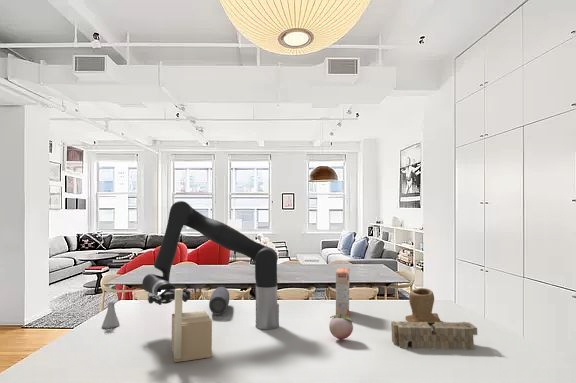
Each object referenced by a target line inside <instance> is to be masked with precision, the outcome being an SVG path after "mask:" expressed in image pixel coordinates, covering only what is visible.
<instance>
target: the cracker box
mask: <svg viewBox="0 0 576 383" xmlns="http://www.w3.org/2000/svg"><path fill="white" fill-rule="evenodd" d="M349 311H350V268H348V267H347V268H346V267H338V268H337V270H336V272H335V315H338V316H340V314H341V317H348V318H349V314H350V313H349Z"/></svg>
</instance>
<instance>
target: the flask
mask: <svg viewBox="0 0 576 383" xmlns="http://www.w3.org/2000/svg"><path fill="white" fill-rule="evenodd" d="M115 304H116V301H108V302H106V305H107V311H106V315H105V317H104V319H103V321H102V324H101V328H102V329H103V328H105V329H111V328H117V327H119V326H120V324H121V323H120V321H119V318H118V316H117V313H116V308H115Z"/></svg>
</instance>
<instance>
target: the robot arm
mask: <svg viewBox="0 0 576 383" xmlns="http://www.w3.org/2000/svg"><path fill="white" fill-rule="evenodd" d="M184 226H185V227H188V228H190V229H193V230H194V231H196V232H198V233H200V234H201V235H203V236H204V237H205V238H206V239H208V240H210V241H211V242H212V243H214V244H216V245H218V246H220V247H221V248H224V249H226V250H229V251H231V252H235V253H238V254H241V255H243V256H246V257H247V258H249V259H250V260H253V261H254V274H255V275H254V278H255V327H256V328H257V329H259V330H272V329H276V328H279V327H280V304H279V303H278V260H279V259H278V258H279V257H278V253H277V252H276V250H275V249H274V248H271V247H268V246H267V245H263V244H262V243H259V242H256V241H254V240H253V239H251V238H249V237H248V236H246V235H245V234H244V233H242V232H240V231H239V230H236V229H235V228H234V227H232V226H229V225H227V224H226V223H224V222H222V221H219V220H216V219H213V218H211V217H208V216H205V215H204V214H202V213H200V212H199V211H198V210H196V209H195V208H193V207H192V206H191V205H190V204H189V203H188V202H186V201H184V200H178V201H176V202H173V204H172V205H171V207H170V209H169V213H168V220H167V225H166V229H165V233H164V234H163V235H164V236H163V239H162V241H161V244H160V247H159V249H158V252H157V255H156V257H155V261H154V263H153V267H154V268H155V269H156V270H159V271H160V272H161V273H162V275H158V274H156V273H155V274H154V273H148V274H147V275H145V276H144V278H143V280H142V284H141V285H142V288H143V290H144V291H145V292H147V302H148V304H153V303H155V304H158V305H159V306H161V305H165V304H166V305H167V304H169V303H172V302H173V301H175V289H177V288H176V287H175V285H174V284H173V283H171V282H170V278H171V277H170V274H171V270H172V269H171V268H172V265H173V263H174V260H175V257H176V253H177V250H178V245H179V238H180V237H181V236H180V235H181V233H182V231H183V228H184ZM189 300H191V291H189V290H188V289H187V288H186V289H185V288H182V302H184V303H187V301H189Z"/></svg>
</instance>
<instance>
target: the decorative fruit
mask: <svg viewBox="0 0 576 383" xmlns="http://www.w3.org/2000/svg"><path fill="white" fill-rule="evenodd" d="M329 319H330V321H329V324H328V326H329V327H328V328H329V332H330V334H331V335H332V336H333V337H335V339H338V340H339V341H342V340H345V339H348V338H349V337H350V336H351V334H352V333H353V331H354V325H353V320H352V319H351V318H350V317H349V316H348V317H341V314H340V316H338V315H336V314H334V315H331V316H330V317H329Z"/></svg>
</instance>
